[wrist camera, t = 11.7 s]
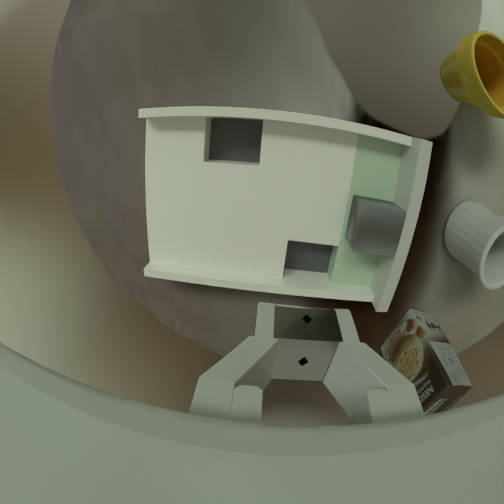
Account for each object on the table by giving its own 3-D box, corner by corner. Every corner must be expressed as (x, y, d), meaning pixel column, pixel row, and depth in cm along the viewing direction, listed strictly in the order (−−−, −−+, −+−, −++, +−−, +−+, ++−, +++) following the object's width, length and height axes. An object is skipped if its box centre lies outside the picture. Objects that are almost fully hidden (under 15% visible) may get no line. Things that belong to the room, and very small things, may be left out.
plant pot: (478, 55, 20) (520, 47, 11) (486, 120, 24) (532, 127, 15) (422, 37, 21) (462, 18, 12) (433, 109, 25) (479, 109, 16)
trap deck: (157, 110, 29) (129, 108, 22) (404, 137, 27) (432, 142, 21) (158, 258, 37) (137, 284, 31) (371, 282, 36) (386, 312, 30)
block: (353, 194, 28) (363, 204, 25) (392, 202, 28) (406, 212, 25) (344, 236, 31) (352, 251, 27) (382, 241, 30) (394, 256, 27)
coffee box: (408, 306, 37) (448, 383, 23) (434, 315, 38) (474, 385, 23) (378, 348, 41) (403, 425, 27) (405, 353, 42) (432, 424, 27)
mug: (445, 265, 34) (478, 302, 25) (437, 211, 31) (478, 240, 22) (498, 236, 31) (535, 263, 22) (494, 184, 28) (537, 204, 18)
